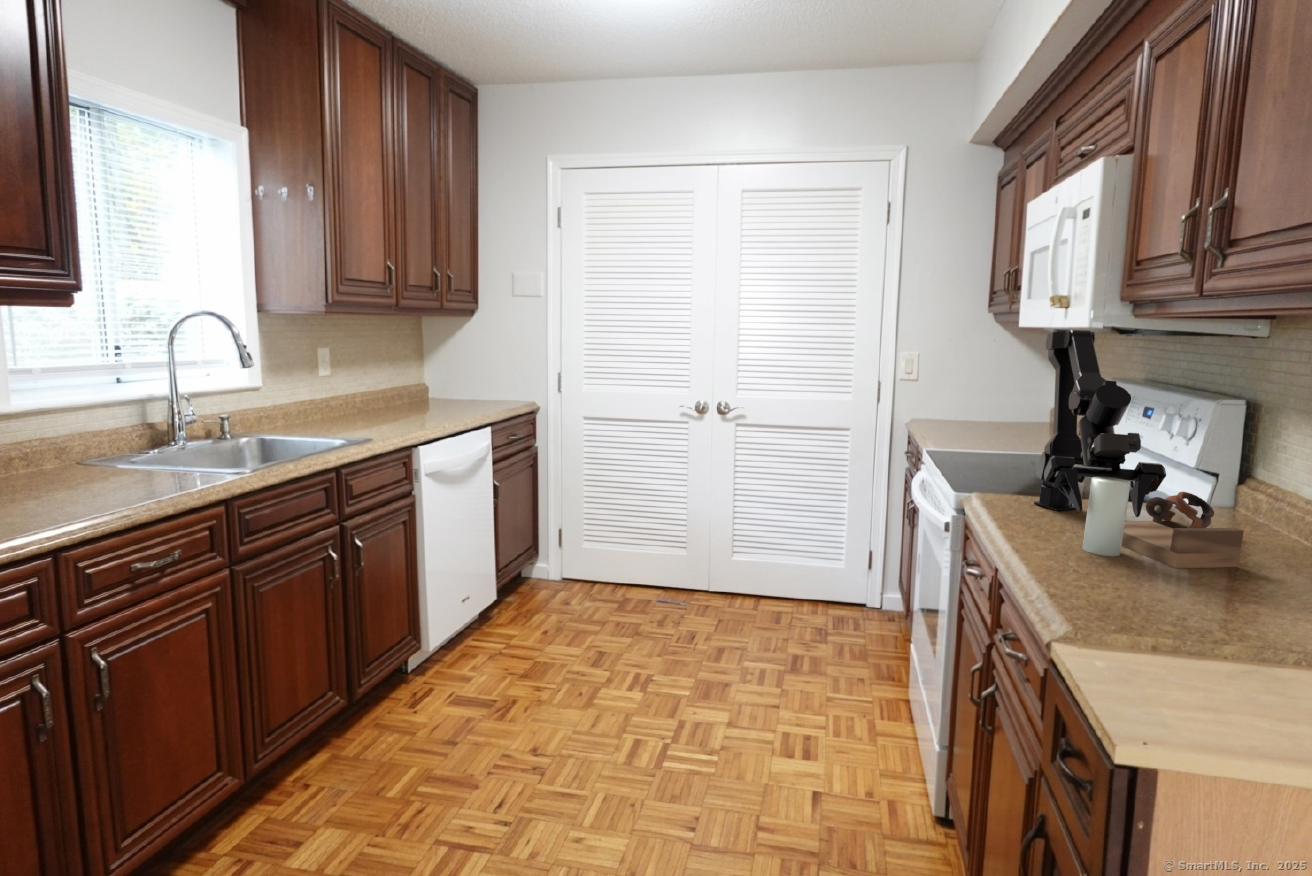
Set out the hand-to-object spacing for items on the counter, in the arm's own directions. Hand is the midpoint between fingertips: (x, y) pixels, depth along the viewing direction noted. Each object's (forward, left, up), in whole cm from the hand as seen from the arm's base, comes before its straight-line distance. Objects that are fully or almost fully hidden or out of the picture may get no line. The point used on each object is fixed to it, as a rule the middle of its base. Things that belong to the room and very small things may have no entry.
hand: (1109, 513), depth 140 cm
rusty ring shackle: (-32, -8, -8) cm, 34 cm away
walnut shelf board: (-13, +2, -7) cm, 15 cm away
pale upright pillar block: (-1, -1, -7) cm, 7 cm away
